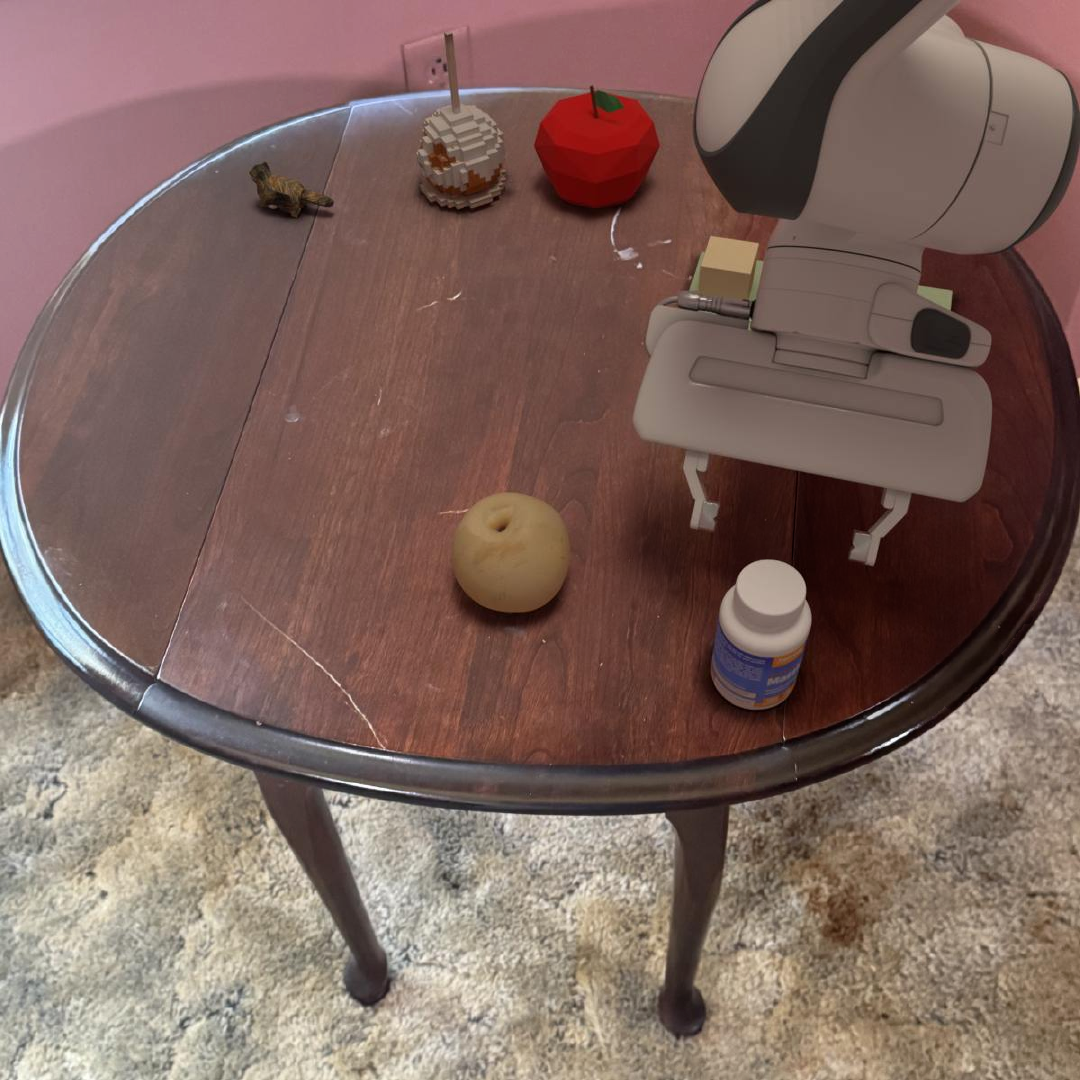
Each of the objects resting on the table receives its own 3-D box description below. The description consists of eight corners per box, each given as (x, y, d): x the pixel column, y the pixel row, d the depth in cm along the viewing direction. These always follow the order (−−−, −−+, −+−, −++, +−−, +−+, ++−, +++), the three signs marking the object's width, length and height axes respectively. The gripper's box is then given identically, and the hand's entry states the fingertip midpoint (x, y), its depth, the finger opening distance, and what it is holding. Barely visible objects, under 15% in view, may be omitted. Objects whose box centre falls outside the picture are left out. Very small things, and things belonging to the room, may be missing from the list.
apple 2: (515, 187, 104) (510, 88, 96) (597, 141, 108) (598, 42, 100) (594, 238, 99) (595, 137, 91) (677, 187, 103) (684, 87, 95)
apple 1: (589, 619, 74) (533, 587, 67) (486, 629, 77) (424, 600, 71) (592, 508, 76) (538, 468, 70) (492, 523, 80) (432, 487, 74)
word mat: (949, 299, 92) (966, 250, 88) (940, 381, 87) (957, 333, 83) (700, 260, 97) (705, 211, 93) (676, 336, 91) (680, 287, 87)
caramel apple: (409, 179, 105) (386, 25, 93) (482, 155, 107) (469, 0, 95) (444, 223, 101) (425, 66, 89) (520, 196, 103) (511, 40, 91)
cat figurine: (257, 191, 104) (255, 155, 101) (338, 217, 104) (338, 182, 101) (244, 208, 103) (242, 172, 99) (326, 235, 102) (327, 200, 99)
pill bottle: (772, 727, 69) (795, 642, 61) (694, 687, 71) (707, 600, 63) (809, 662, 72) (836, 574, 64) (733, 626, 73) (750, 535, 66)
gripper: (648, 278, 63) (602, 515, 65) (1023, 340, 59) (961, 590, 61) (661, 290, 69) (619, 506, 72) (1002, 347, 65) (946, 574, 67)
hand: (780, 546), depth 66 cm, fingers open, 8 cm apart
